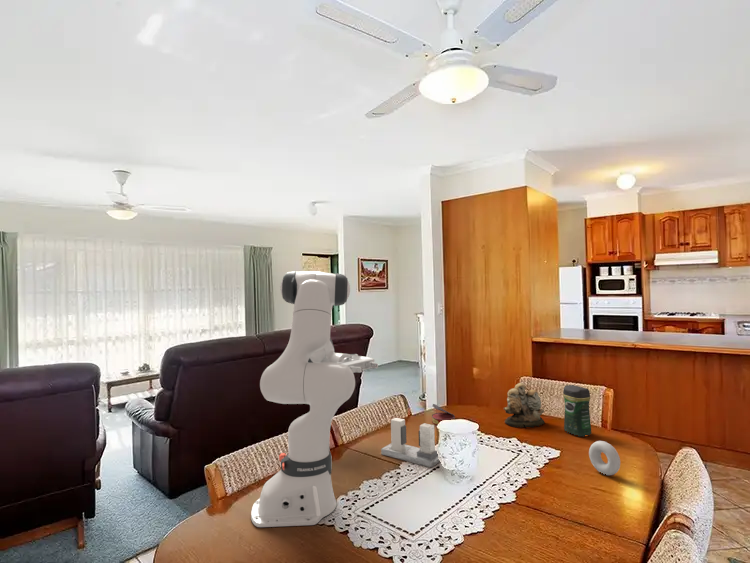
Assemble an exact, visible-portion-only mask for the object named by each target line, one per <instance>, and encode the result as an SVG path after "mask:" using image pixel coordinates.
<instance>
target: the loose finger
mask: <svg viewBox="0 0 750 563" xmlns="http://www.w3.org/2000/svg"><path fill="white" fill-rule="evenodd" d="M390 438H391V439H390V441H391V443H390V444H391V449H392V450H396V451H400V452H404V451H406V447H405V445H406V443H407V425H406V420H405V419H404V418H399V417H394V418H392V419H390Z"/></svg>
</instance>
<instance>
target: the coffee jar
mask: <svg viewBox="0 0 750 563" xmlns="http://www.w3.org/2000/svg"><path fill="white" fill-rule="evenodd" d="M562 390H563V392H562V393H563V394H562V397H563V401H564V417H563V418H564V419H563V420H564V422H563V429H564V432H566V431H567V432H566V433H568V432H569V433H568V434H570V433H571V434H570V435H572V434H574V435H573V436H575V435H578V436H577V437H584V436H585V435H589V436H591V435H592V424H591V413H590V402H591V401H590V400H591V392H590V389H589V388H586V387H581V386H579V385H575V384H567V385H565V386H564V387H563V389H562ZM590 434H591V435H590Z"/></svg>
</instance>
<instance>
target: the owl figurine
mask: <svg viewBox="0 0 750 563" xmlns="http://www.w3.org/2000/svg"><path fill="white" fill-rule="evenodd" d="M526 389H527V384H524V383H522V382H518V383H517V384H515V386H514V388H510V389H509V390H508V391H507V398H506V401H507V406H506V407H503V410H504V411H505V413H506V414H509V415H510V416H508V417H507V418H505V420H504V424H506V425H508V426H510V427H512V428H518V427H520V428H522V427H523V428H526V427H532V428H535V427H534V426H538V427H540V426H539V425H542V424H543V425H544V424H545V420H544V419H543V418H542V417H541V415H542V414H544V413H545V410H544V409H543V408H542V401H541V396H539V394H538V392H537V390H535V389H532V390H531V389H530V390H528V391H527V392H526ZM541 408H542V409H541ZM543 425H542V426H543Z"/></svg>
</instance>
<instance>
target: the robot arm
mask: <svg viewBox="0 0 750 563" xmlns="http://www.w3.org/2000/svg"><path fill="white" fill-rule="evenodd" d="M279 287H280V294H281V297H282V299H283V301H284V302H286V303H289V304H292V305H293V312H292V323H291V330H290V336H289V341H288V344H287V345H286V347H285V349H284V350H283V352H282V353H281V355H280V356H279V357H278V358H277V359H276V360H275V361H274V362H272V364H270V365H269V366H267V367H266V368H265V369H264V370H263V372H262V374H261V377H260V380H259V388H260V392H261V394H262V396H263V398H264V399H265V400H266V401H267V402H268V401H269V402H273V403H276V404H282V405H287V404H288V405H297V404H298V405H303V404H305V405H309V411H308V412H307V413H305V414H302V415H301V416H298V417H297V418H296V419H294V420H293V421H292V422H291V423H290V425H289V427H288V431H287V437H288V438H287V439H288V440H287V443H288V444H287V445H288V446H287V447H288V449H287V450H288V454H286V453H285V452H281V453H280V454H279V456H278V458H279V459H278V460H279V462H280V470H279V471H277V472H276V473H275V474H274V475H273V476H272V477H271V478H269V479H268V480H267V481H266V482H265V483H264V484H263V487H262V489H261V492H260V496H259V498H258V499H257V500H255V501H254V503H253V505H252V507H251V512H250V520H251V522H252V525H254V526H255V527H257V528H271V527H272V528H275V527H276V528H277V527H296V526H297V527H300V526H314V525H317V524H318V523H319V522H320V521H321V520H322V519H323V518H324V517H326V516H328V515H330V514H332V512H334V511H335V509H336V508H337V500H336V497H335V494H334V489H333V483H332V470H333V468H332V467H333V466H332V465H333V462H332V461H333V460H332V458H333V456H332V453H331V451H330V435H331V432H330V431H331V425H332V421H333V419H334V416H335V414H336V413H337V411H338V409H340V407H341V406H342V405H343V404H344V403H345V402H347V401H348V400H350V398H351V397H352V395H353V393H354V391H355V388H356V378H355V374H354V373H358V374H359V373H362V372H364V371H365V370H366V371H367V370H370V369H378V368H379V363H378V362H377V363H376V362H375V359H374V358H373V357H369V356H362V355H359V354H357V353H342V352H336V351H335V346H334V343H333V340H332V338H331V326H332V310H333V306H334V307H339V306H343V305H345V303H347V301H348V299H349V297H350V293H351V285H350V281H349V280H348V277H347V276H346V275H345V274H342V273H339V272H338V273H332V272H325V271H320V270H316V271H315V270H305V271H296V270H292V271H288V272H286V273H285V274H284V275H283V277H282V279H281V282H280V286H279Z"/></svg>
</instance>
